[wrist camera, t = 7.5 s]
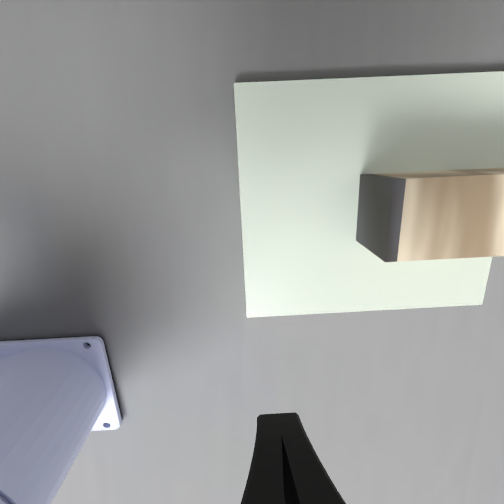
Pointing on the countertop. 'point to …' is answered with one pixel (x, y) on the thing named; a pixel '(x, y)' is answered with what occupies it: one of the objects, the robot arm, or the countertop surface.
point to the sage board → (353, 185)
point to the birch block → (432, 214)
